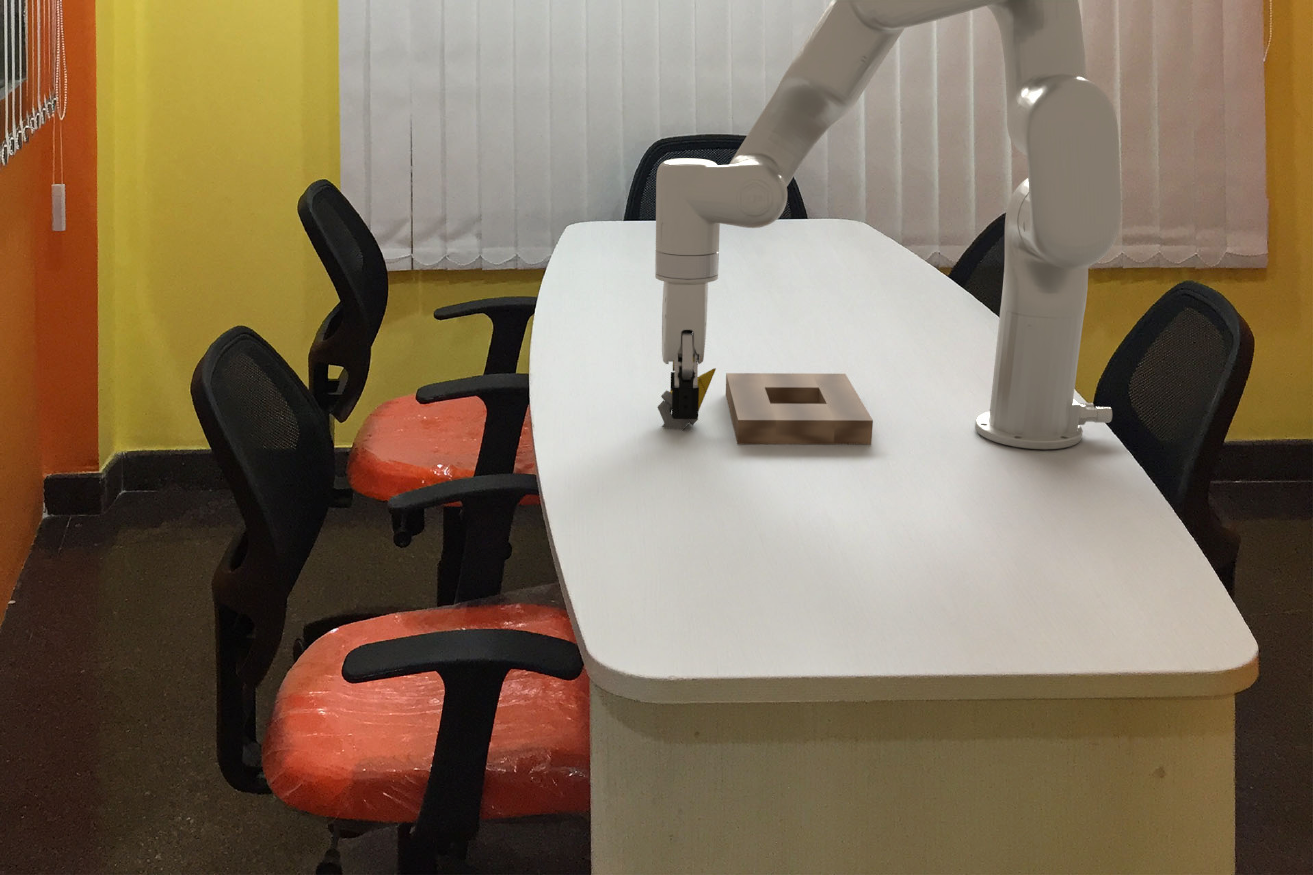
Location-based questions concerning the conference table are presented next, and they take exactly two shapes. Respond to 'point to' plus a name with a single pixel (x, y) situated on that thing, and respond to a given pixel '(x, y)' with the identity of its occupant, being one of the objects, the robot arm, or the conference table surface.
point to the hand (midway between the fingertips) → (684, 409)
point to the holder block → (796, 409)
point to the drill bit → (666, 404)
